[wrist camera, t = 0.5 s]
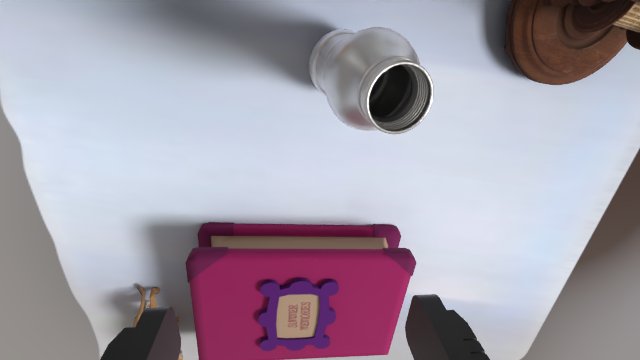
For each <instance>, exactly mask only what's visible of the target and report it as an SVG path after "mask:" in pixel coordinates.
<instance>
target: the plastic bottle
mask: <svg viewBox="0 0 640 360" xmlns="http://www.w3.org/2000/svg"><path fill="white" fill-rule="evenodd" d="M309 72H310V77H311V79H312V82H313V84H314V85H315V87H316V88H317V89H318V90H319V91H320V92H321V93H322V94H323V95H325V96H326V97H327V100H328V102H329V105H330V108H331V109H332V111H333V112H334V114H335V115H336V117H337V118H338V119H339V120H340V121H341V122H343V123H344V124H346V125H348V126H349V127H352V128H355V129H358V130H367V131H369V130H380V131H383V132H385V133H389V134H400V133H404V132H407V131H409V130H411V129H413V128H414V127H416V126H417V125H418V124H419V123H420V122H421V121H422V120H423V119H424V118H425V116H426V115H427V113H428V111H429V109H430V107H431V104H432V101H433V95H434V91H433V83H432V80H431V77H430V75H429V74H428V72H427V71H426V70H425V69H424V68H423V67H422V66H421V65H420V63H419V59H418V57H417V54H416V52H415V50H414V49H413V47H412V46H411V44H410V43H409V42H408V41H407V39H406V38H404V37H403V36H402V35H401V34H400V33H398V32H396V31H393V30H391V29H387V28H382V27H374V28H368V29H364V30H361V31H358V32H356V33H355V32H353V31H351V30H346V29H338V30H334V31H331V32H329V33H327V34H325V35H324V36H323V37H322V38H321V39H320V40H319V41H318V42H317V43H316V45H315V47H314V48H313V50H312V53H311V56H310V61H309Z"/></svg>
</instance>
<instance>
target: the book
mask: <svg viewBox="0 0 640 360" xmlns="http://www.w3.org/2000/svg"><path fill="white" fill-rule="evenodd" d="M400 238H401V235H400V232H399V230H398V228H397V227H396V226H394V225H387V224H373V226H363V225H297V224H234V223H219V222H209V223H206V224H203V225H202V226H201V228H200V230H199V232H198V243H199V247H198V248H194V249H193V250H192V251H191V253H190V254H189V256H188V259H187V261H186V269H187V277H188V282H190V289H191V297H192V305H193V314H194V322H195V330H196V338H197V347H198V355H199V360H284V359H306V358H327V357H348V356H370V355H387V354H388V352H389V349H390V345H391V342H392V338H393V335H394V331H395V328H396V325H397V321H398V318H399V314H400V311H401V308H402V304H403V301H404V297H405V294H406V291H407V287H408V284H409V280H410V277H411V276H412V275H413V272H414V269H415V265H416V261H415V258H414V256H413V255H412V253H411V251H410V250H409V249H406V248H398V246H399V242H400Z"/></svg>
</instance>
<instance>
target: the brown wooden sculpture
mask: <svg viewBox="0 0 640 360" xmlns="http://www.w3.org/2000/svg"><path fill="white" fill-rule="evenodd" d="M506 42H507V45H506V46H505V47H504V50H505V51H506V52H507V53H509V55H510V58H511V60H512V62H513V64H514V65H515V67H516V68H517V70H518V71H519V72H520V73H521V74H523V75H524V76H525V77H527V78H528V79H530V80H532V81H535V82H539V83H544V84H550V85H562V84H568V83H572V82H575V81H578V80H581V79H583V78H585V77H587V76H589V75H591V74H593V73H594V72H596V71H597V70H599V69H600V68H602V67H603V66H604V65H606V64H607V63H608V62H609V61H610V60H611V59H612V58H613V57H614V56H615V55H616V54H617V53H618V52H619V51H620V50H621V49H622V48H623V47H624V45H625V44H626V43H627V42H628V43H629V44H630V45H631V46H632V47H634V48H636V49H639V50H640V0H512V1H511V5H510V8H509V12H508V17H507V23H506Z"/></svg>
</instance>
